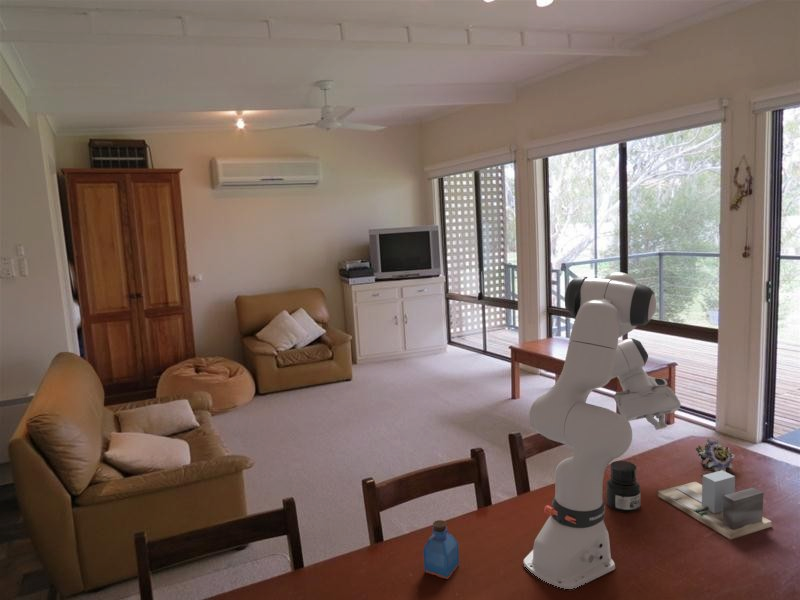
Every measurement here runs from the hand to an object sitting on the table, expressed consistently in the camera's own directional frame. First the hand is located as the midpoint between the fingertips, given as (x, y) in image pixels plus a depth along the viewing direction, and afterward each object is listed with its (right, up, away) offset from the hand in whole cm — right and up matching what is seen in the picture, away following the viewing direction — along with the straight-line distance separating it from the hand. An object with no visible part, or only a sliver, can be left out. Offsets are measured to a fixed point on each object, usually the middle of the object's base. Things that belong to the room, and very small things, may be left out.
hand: (661, 428), depth 168 cm
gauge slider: (+6, -18, -18) cm, 26 cm away
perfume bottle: (-69, -27, -32) cm, 81 cm away
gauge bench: (+7, -19, -14) cm, 25 cm away
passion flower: (+21, -15, +9) cm, 27 cm away
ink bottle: (-15, -20, -9) cm, 27 cm away
